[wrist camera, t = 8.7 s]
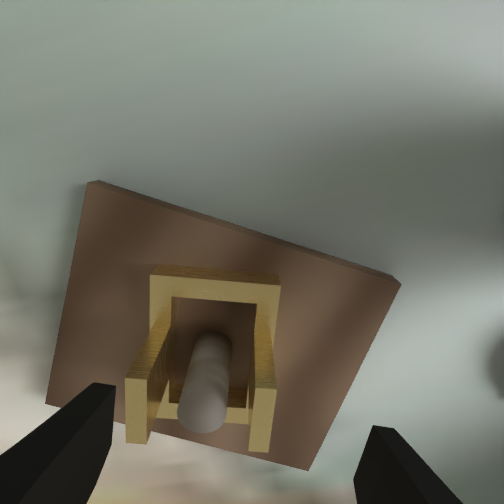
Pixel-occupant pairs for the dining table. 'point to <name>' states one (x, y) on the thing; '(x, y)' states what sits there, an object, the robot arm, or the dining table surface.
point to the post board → (214, 321)
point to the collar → (164, 351)
